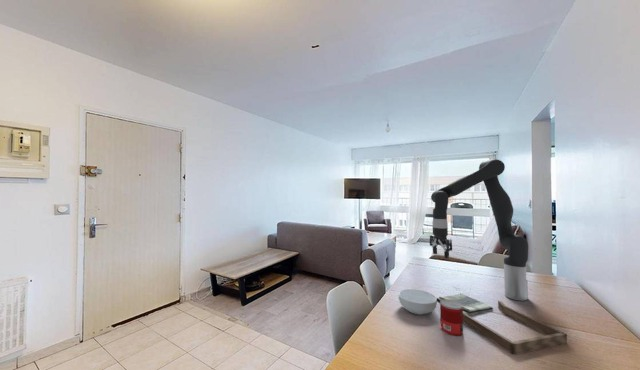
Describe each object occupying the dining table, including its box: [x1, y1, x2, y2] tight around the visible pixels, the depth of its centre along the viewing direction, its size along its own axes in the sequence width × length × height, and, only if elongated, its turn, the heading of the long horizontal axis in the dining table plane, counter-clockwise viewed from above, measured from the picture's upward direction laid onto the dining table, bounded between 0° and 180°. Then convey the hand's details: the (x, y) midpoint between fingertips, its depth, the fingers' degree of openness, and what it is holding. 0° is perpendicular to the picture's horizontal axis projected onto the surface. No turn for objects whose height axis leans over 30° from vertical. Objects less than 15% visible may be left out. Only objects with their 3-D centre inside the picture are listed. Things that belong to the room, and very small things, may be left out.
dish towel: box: [436, 293, 494, 316], centre depth 120 cm, size 19×18×3 cm
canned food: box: [439, 299, 464, 337], centre depth 98 cm, size 8×8×11 cm
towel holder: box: [463, 300, 568, 355], centre depth 100 cm, size 30×28×4 cm
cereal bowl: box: [398, 288, 438, 316], centre depth 114 cm, size 17×17×7 cm
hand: (440, 256), depth 133 cm, fingers open, 8 cm apart
